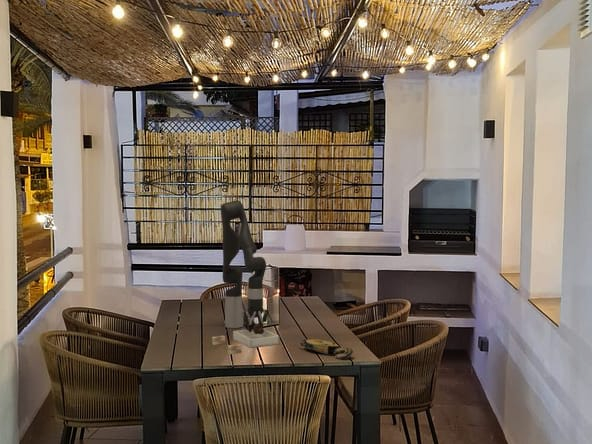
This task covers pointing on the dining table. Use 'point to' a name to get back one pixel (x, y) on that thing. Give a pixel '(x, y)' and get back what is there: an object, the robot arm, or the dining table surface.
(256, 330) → the bolt
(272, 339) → the tray
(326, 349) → the pulley block
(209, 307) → the dining table surface
